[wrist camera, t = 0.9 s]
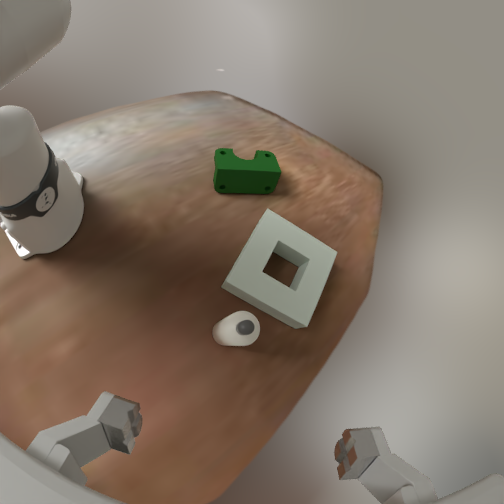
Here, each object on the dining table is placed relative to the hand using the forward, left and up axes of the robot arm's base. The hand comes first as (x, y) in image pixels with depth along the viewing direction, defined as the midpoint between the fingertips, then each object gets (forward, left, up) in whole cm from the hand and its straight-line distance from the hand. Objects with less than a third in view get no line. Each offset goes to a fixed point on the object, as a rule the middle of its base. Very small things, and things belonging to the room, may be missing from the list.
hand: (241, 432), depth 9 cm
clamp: (-9, +33, -32) cm, 47 cm away
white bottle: (+2, +7, -32) cm, 33 cm away
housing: (+5, +20, -32) cm, 38 cm away
